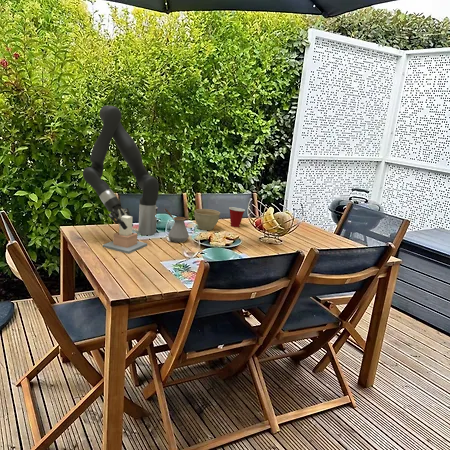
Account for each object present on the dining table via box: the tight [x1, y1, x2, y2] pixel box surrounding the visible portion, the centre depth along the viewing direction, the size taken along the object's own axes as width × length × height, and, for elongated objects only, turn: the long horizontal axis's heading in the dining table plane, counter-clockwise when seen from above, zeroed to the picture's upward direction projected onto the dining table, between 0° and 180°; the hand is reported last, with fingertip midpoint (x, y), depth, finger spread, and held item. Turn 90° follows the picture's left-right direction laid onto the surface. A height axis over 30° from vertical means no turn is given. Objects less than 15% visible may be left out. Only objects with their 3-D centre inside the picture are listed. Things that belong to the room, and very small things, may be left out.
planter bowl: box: [194, 208, 221, 231], centre depth 255 cm, size 16×16×11 cm
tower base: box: [102, 231, 148, 255], centre depth 209 cm, size 16×16×7 cm
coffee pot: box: [162, 207, 190, 243], centre depth 229 cm, size 21×12×15 cm, turn 41°
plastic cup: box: [228, 206, 246, 228], centre depth 267 cm, size 11×11×12 cm
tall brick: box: [118, 215, 133, 236], centre depth 207 cm, size 4×4×10 cm
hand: (128, 227), depth 206 cm, fingers closed on tall brick, 4 cm apart
